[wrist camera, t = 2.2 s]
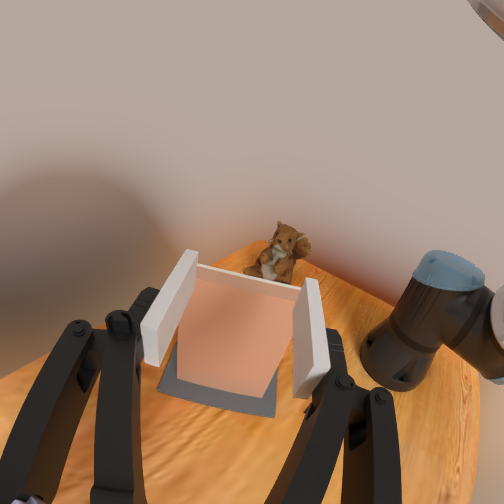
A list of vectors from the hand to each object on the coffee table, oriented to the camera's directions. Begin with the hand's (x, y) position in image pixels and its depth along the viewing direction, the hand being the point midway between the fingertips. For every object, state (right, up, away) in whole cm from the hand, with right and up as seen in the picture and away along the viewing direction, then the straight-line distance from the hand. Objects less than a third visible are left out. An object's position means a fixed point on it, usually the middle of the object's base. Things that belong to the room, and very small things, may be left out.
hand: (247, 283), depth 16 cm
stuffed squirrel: (+6, -4, +46) cm, 47 cm away
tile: (-4, -16, +18) cm, 25 cm away
